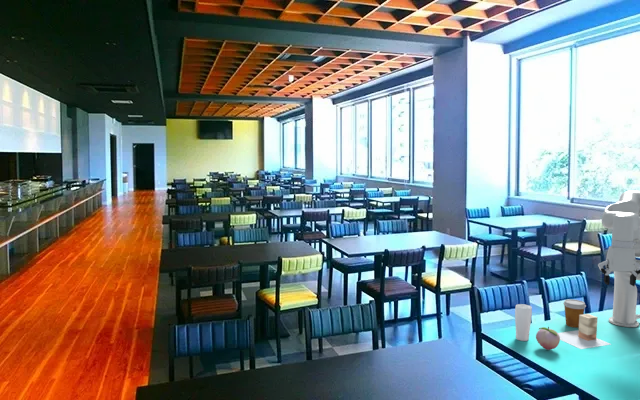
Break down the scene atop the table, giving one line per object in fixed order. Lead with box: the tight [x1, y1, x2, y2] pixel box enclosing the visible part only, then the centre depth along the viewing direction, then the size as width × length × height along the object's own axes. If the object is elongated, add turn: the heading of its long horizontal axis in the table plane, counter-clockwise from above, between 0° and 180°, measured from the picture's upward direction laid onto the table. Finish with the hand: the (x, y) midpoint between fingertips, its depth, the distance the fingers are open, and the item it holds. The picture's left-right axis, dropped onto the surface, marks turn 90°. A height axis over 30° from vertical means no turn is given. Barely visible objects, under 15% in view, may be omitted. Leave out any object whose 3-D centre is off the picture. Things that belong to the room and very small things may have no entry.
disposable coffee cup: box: [563, 298, 587, 329], centre depth 239 cm, size 10×10×12 cm
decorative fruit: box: [535, 326, 561, 351], centre depth 211 cm, size 9×8×10 cm
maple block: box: [578, 313, 598, 341], centre depth 223 cm, size 5×5×10 cm
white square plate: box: [557, 329, 612, 350], centre depth 222 cm, size 17×18×1 cm
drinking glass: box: [514, 303, 533, 342], centre depth 222 cm, size 7×7×15 cm
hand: (619, 284), depth 210 cm, fingers open, 9 cm apart
